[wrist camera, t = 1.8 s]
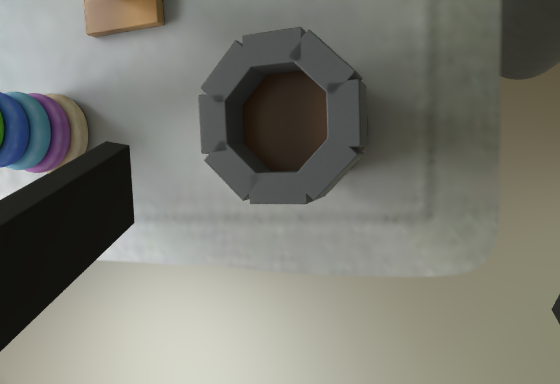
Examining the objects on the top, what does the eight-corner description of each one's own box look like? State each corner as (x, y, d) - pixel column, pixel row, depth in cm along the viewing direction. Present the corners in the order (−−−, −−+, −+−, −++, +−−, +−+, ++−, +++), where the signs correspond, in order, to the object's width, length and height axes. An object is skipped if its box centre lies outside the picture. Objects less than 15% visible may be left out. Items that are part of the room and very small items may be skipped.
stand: (367, 75, 31) (348, 51, 24) (369, 175, 32) (351, 182, 24) (273, 84, 34) (229, 66, 26) (277, 176, 35) (235, 184, 27)
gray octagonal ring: (365, 31, 23) (358, 17, 21) (368, 199, 24) (362, 204, 22) (215, 52, 27) (194, 42, 24) (222, 199, 27) (203, 203, 25)
